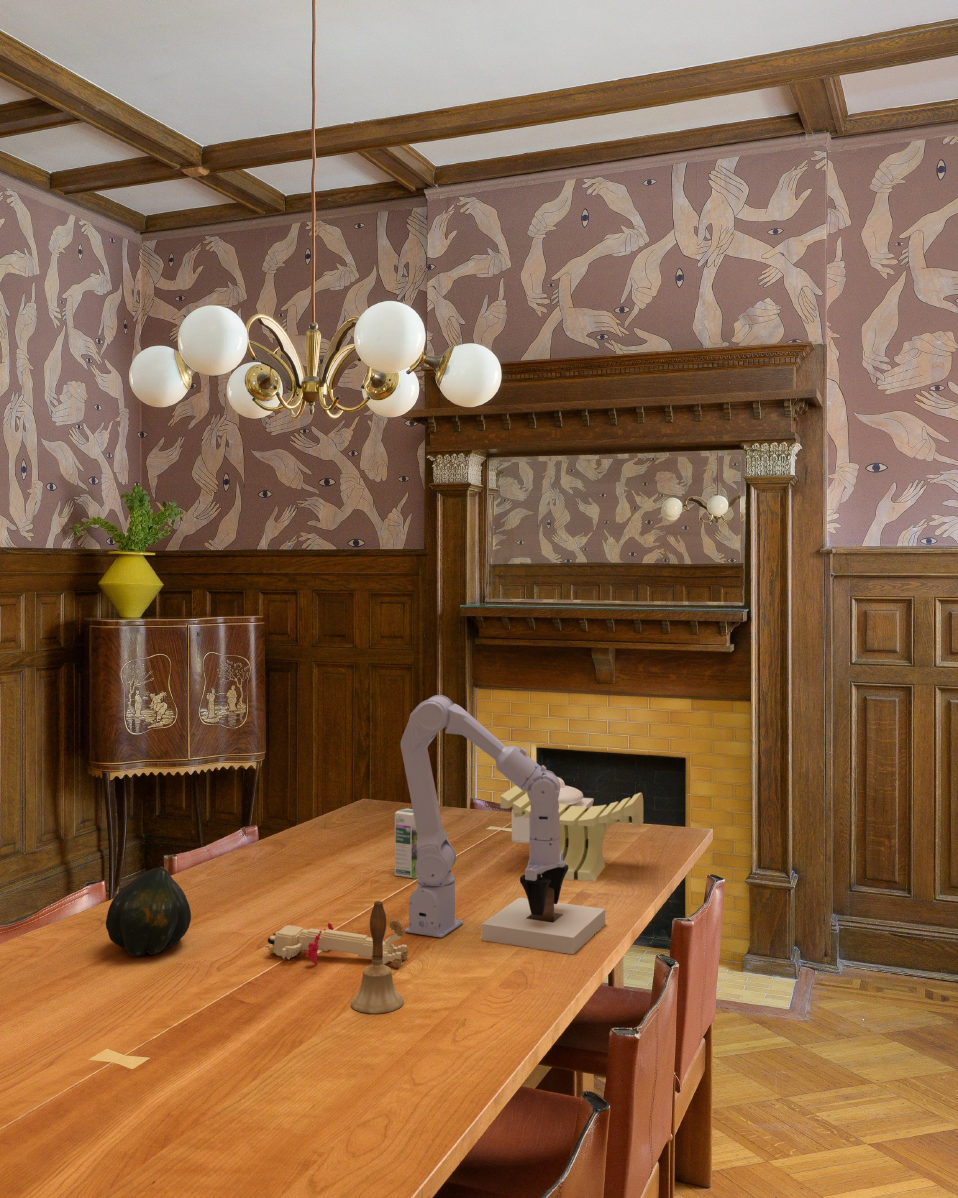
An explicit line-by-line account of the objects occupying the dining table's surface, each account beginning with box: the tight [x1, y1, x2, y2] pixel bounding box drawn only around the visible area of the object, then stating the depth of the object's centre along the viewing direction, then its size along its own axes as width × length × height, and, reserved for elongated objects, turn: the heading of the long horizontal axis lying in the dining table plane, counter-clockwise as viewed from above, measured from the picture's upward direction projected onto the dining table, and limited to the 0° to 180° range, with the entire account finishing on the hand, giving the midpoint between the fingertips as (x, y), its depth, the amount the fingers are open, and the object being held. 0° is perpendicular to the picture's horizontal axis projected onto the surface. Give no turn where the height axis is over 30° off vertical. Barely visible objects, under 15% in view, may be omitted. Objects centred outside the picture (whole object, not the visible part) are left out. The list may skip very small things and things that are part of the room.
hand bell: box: [350, 900, 405, 1015], centre depth 163 cm, size 8×8×16 cm
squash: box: [105, 866, 192, 958], centre depth 189 cm, size 14×15×15 cm
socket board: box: [480, 897, 606, 955], centre depth 197 cm, size 18×18×3 cm
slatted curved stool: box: [500, 785, 644, 882], centre depth 240 cm, size 30×16×18 cm, turn 73°
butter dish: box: [511, 776, 595, 844], centre depth 272 cm, size 18×18×16 cm
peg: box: [533, 887, 554, 923], centre depth 197 cm, size 4×4×8 cm
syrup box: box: [394, 808, 418, 880], centre depth 236 cm, size 6×6×14 cm
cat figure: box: [264, 919, 408, 969], centre depth 183 cm, size 10×9×25 cm
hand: (544, 909), depth 197 cm, fingers open, 7 cm apart
